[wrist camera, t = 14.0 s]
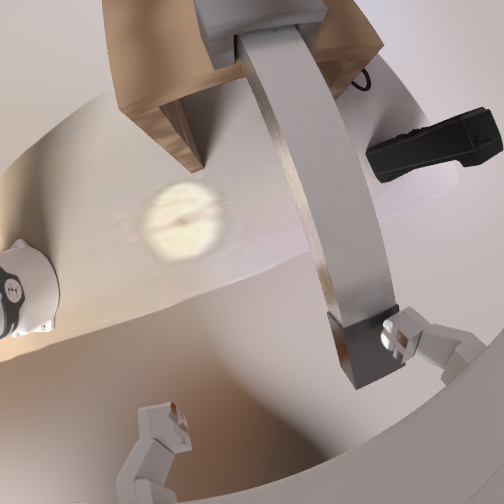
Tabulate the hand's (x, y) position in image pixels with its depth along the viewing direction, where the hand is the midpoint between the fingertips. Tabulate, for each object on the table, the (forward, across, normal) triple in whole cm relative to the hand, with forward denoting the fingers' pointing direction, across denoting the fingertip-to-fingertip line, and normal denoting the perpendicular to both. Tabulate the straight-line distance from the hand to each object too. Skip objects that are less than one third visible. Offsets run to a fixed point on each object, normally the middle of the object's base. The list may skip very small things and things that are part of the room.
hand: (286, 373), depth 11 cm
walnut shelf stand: (+36, -8, -10) cm, 38 cm away
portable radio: (+28, -31, +1) cm, 42 cm away
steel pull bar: (+6, -5, -6) cm, 10 cm away
